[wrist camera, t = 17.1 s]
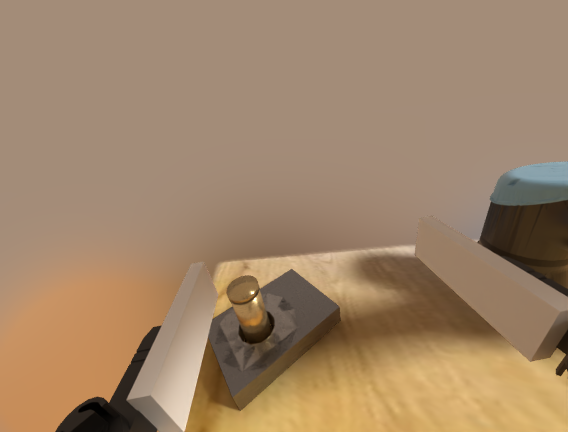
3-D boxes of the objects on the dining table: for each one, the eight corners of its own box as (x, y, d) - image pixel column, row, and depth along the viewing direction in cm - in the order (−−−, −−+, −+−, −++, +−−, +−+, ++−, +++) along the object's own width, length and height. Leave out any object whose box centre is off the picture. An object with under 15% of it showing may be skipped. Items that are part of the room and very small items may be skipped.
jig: (294, 281, 53) (291, 268, 51) (340, 320, 41) (339, 306, 39) (210, 337, 43) (203, 325, 41) (240, 410, 31) (232, 397, 30)
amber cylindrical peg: (265, 322, 44) (249, 271, 38) (279, 340, 40) (263, 286, 34) (243, 338, 41) (222, 286, 35) (255, 359, 37) (233, 305, 31)
